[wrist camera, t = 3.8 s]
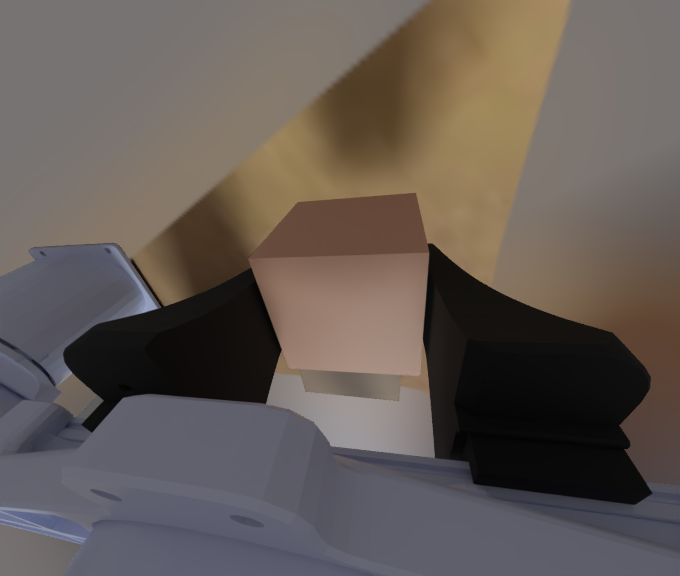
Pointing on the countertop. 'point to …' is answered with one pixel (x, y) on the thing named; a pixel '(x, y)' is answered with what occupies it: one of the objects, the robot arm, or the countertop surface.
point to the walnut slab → (352, 384)
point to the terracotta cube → (347, 284)
